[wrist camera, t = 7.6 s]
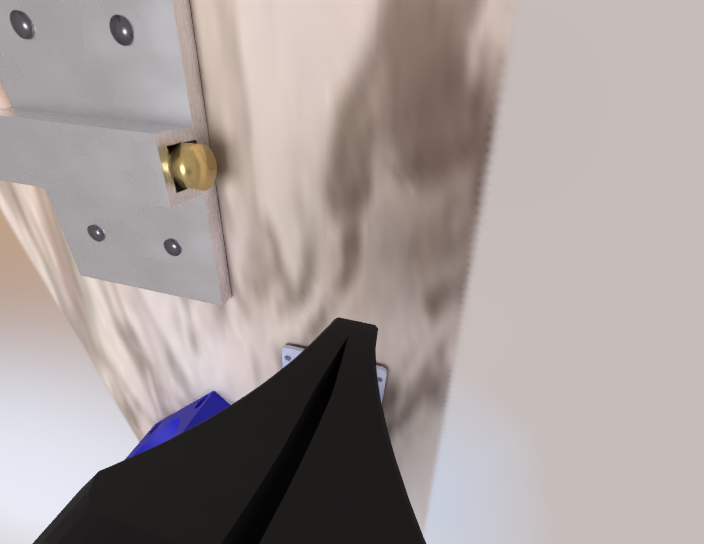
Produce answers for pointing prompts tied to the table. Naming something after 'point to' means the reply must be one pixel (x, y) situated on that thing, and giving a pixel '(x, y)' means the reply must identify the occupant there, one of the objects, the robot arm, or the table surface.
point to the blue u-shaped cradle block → (181, 421)
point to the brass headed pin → (193, 166)
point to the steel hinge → (113, 137)
